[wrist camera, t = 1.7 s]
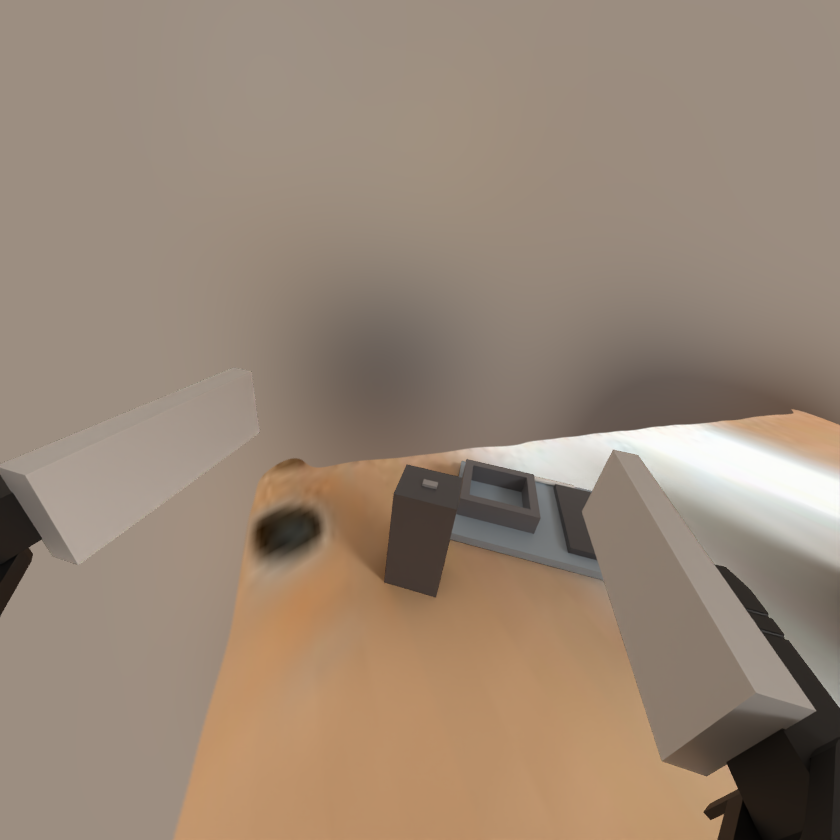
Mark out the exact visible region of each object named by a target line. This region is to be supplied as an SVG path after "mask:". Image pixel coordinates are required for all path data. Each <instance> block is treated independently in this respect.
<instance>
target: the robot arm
mask: <svg viewBox="0 0 840 840" xmlns="http://www.w3.org/2000/svg"><path fill="white" fill-rule="evenodd" d="M259 433H260V431H259V423H258V415H257V408H256V401H255V393H254V386H253V379H252V371H248V370H243V369H239V368H231V369H229V370H227V371H224V372H222V373H219V374H217V375H214V376H212V377H209V378H207V379H205V380H202V381H200V382H197V383H195V384H192V385H190V386H188V387H185V388H183V389H180V390H178V391H176V392H173V393H171V394H168V395H166V396H164V397H161V398H158V399H156V400H154V401H151V402H149V403H146V404H144V405H142V406H140V407H137V408H134V409H132V410H129V411H127V412H125V413H122V414H120V415H117V416H115V417H113V418H110V419H108V420H105V421H103V422H100V423H98V424H96V425H94V426H91V427H88V428H86V429H84V430H81V431H79V432H76V433H74V434H71V435H69V436H67V437H64V438H62V439H59V440H57V441H54V442H52V443H50V444H47V445H45V446H42V447H40V448H38V449H35V450H33V451H30V452H28V453H26V454H23V455H20V456H18V457H16V458H13V459H11V460H8V461H6V462H4V463H1V464H0V615H1V614H2V612H3V610H4V608H5V607H6V605H7V603H8V601H9V600H10V598H11V596H12V594H13V593H14V591H15V589H16V587H17V586H18V584H19V582H20V580H21V578H22V577H23V575H24V573H25V571H26V570H27V568H28V565H29V564H30V563H31V560H32V556H33V553H32V552H31V551H30V549H29V548H28V547H30V546H31V545H33V544H35V543H36V542H38V541H40V540H41V539H42V541H43V542H44V544H45V545H46V547H47V548H48V550H49V551H50V553H51V555H52V556H53V557H56V558H59V559H61V560H64V561H67V562H70V563H73V564H76V565H80V564H81V563H82V562H84V561H85V560H86V559H88V558H89V557H90V556H92V555H93V554H94V553H96V552H97V551H99V550H100V549H101V548H103V547H104V546H106V545H107V544H108V543H110V542H111V541H112V540H114V539H115V538H116V537H118V536H119V535H120V534H122V533H123V532H125V531H126V530H127V529H129V528H130V527H131V526H133V525H134V524H136V523H137V522H138V521H140V520H141V519H142V518H144V517H145V516H147V515H148V514H149V513H151V512H152V511H153V510H155V509H156V508H158V507H159V506H160V505H162V504H163V503H164V502H166V501H167V500H169V499H170V498H171V497H173V496H174V495H175V494H177V493H178V492H179V491H181V490H182V489H183V488H185V487H186V486H188V485H189V484H190V483H192V482H193V481H195V480H196V479H197V478H199V477H200V476H201V475H203V474H204V473H206V472H207V471H208V470H210V469H211V468H212V467H214V466H215V465H216V464H218V463H219V462H221V461H222V460H223V459H225V458H226V457H227V456H229V455H230V454H232V453H233V452H234V451H236V450H237V449H238V448H240V447H241V446H242V445H244V444H245V443H247V442H248V441H249V440H251V439H252V438H253V437H255V436H256V435H258V434H259ZM582 514H583V517H584V520H585V523H586V526H587V530H588V533H589V536H590V539H591V542H592V545H593V548H594V551H595V555H596V558H597V561H598V564H599V567H600V570H601V573H602V576H603V580H604V583H605V586H606V589H607V592H608V595H609V598H610V601H611V604H612V608H613V611H614V614H615V617H616V620H617V623H618V626H619V629H620V633H621V636H622V639H623V642H624V645H625V648H626V651H627V654H628V657H629V661H630V664H631V667H632V670H633V673H634V676H635V679H636V682H637V686H638V689H639V692H640V695H641V698H642V701H643V704H644V707H645V710H646V714H647V717H648V720H649V723H650V726H651V729H652V732H653V735H654V739H655V742H656V745H657V748H658V751H659V754H660V757H661V760H662V761H663V762H666V763H669V764H672V765H675V766H678V767H681V768H684V769H687V770H690V771H693V772H696V773H698V774H701V775H704V776H708V775H710V774H711V773H713V772H715V771H716V770H718V769H720V768H722V767H723V766H725V765H728V767H729V769H730V772H731V774H732V776H733V778H734V781H735V783H736V785H737V787H738V789H737V790H735V791H734V792H732V793H730V794H728V795H726V796H724V797H722V798H720V799H718V800H716V801H714V802H712V803H710V804H709V805H708V807H707V808H706V809H705V811H704V813H705V814H706V816H707V817H708V818H709V819H710V820H712V819H714V818H716V817H718V816H720V815H722V814H724V817H723V821H722V825H721V828H720V832H719V836H718V840H840V708H839V707H838V705H837V704H836V703H835V701H834V700H833V699H832V697H831V696H830V695H829V693H828V692H827V691H826V689H825V688H824V687H823V685H822V684H821V683H820V681H819V680H818V679H817V677H816V676H815V675H814V673H813V672H812V671H811V669H810V668H809V667H808V666H807V664H806V663H805V662H804V660H803V659H802V658H801V656H800V655H799V654H798V652H797V651H796V650H795V648H794V647H793V646H792V644H791V643H790V642H789V640H785V639H784V634H783V632H782V631H781V630H780V628H779V627H778V626H777V624H776V623H775V622H774V620H773V619H771V618H769V617H768V612H767V611H766V610H765V608H764V607H763V606H762V604H761V603H760V602H759V600H758V599H757V598H756V596H755V595H754V594H753V592H752V591H751V590H750V589H749V588H748V587H747V586H746V585H745V584H744V583H743V582H741V581H740V580H739V579H738V578H737V577H736V576H735V575H734V574H733V573H732V572H730V571H729V570H728V569H727V568H726V567H723V566H719V565H715V564H714V563H713V562H712V560H711V559H710V558H709V556H708V555H707V553H706V552H705V550H704V549H703V547H702V546H701V545H700V543H699V542H698V540H697V539H696V537H695V536H694V535H693V533H692V532H691V530H690V529H689V527H688V526H687V525H686V523H685V522H684V520H683V519H682V517H681V516H680V515H679V513H678V512H677V510H676V509H675V507H674V506H673V504H672V503H671V502H670V500H669V499H668V497H667V496H666V494H665V493H664V492H663V490H662V489H661V487H660V486H659V484H658V483H657V482H656V480H655V479H654V477H653V476H652V474H651V473H650V471H649V470H648V469H647V467H646V466H645V464H644V463H643V461H642V460H641V459H640V457H639V456H638V455H635V454H631V453H626V452H621V451H617V450H613V451H612V453H611V455H610V457H609V459H608V461H607V463H606V465H605V467H604V469H603V471H602V473H601V475H600V477H599V479H598V481H597V483H596V485H595V487H594V489H593V491H592V492H591V494H590V496H589V498H588V500H587V502H586V504H585V506H584V508H583V510H582Z"/></svg>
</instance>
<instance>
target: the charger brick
mask: <svg viewBox="0 0 840 840" xmlns="http://www.w3.org/2000/svg"><path fill="white" fill-rule="evenodd" d="M461 484H462V477H457V476H453V475H449V474H445V473H441V472H436V471H432V470H428V469H424V468H420V467H415V466H411V465H406V468H405V470H404V472H403V474H402V476H401V479H400V481H399V483H398V485H397V488H396V490H395V492H394V496H393V506H392V515H391V524H390V533H389V543H388V552H387V561H386V570H385V580H384V582H385V583H388V584H392V585H395V586H399V587H402V588H406V589H409V590H412V591H416V592H419V593H423V594H426V595H429V596H433V597H436V595H437V591H438V587H439V583H440V579H441V574H442V570H443V566H444V562H445V558H446V554H447V550H448V546H449V541H450V537H451V533H452V529H453V525H454V521H455V517H456V512H457V508H458V502H459V496H460V490H461Z"/></svg>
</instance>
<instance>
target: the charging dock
mask: <svg viewBox="0 0 840 840" xmlns="http://www.w3.org/2000/svg"><path fill="white" fill-rule="evenodd" d="M459 477H462V484H461V490H460V496H459V502H458V508H457V512H456V517H455V521H454V525H453V529H452V533H451V537H450V539H451V540H454V541H458V542H462V543H466V544H469V545H473V546H477V547H481V548H484V549H488V550H492V551H496V552H499V553H503V554H507V555H511V556H514V557H518V558H522V559H526V560H529V561H533V562H537V563H541V564H544V565H548V566H552V567H556V568H559V569H563V570H567V571H571V572H574V573H578V574H582V575H586V576H589V577H593V578H597V579H601V580H603V576H602V573H601V570H600V567H599V564H598V561H597V558H596V555H595V551H594V548H593V545H592V542H591V539H590V536H589V533H588V530H587V526H586V523H585V520H584V517H583V514H582V510H583V508H584V506H585V504H586V502H587V500H588V498H589V496H590V494H591V492H592V491H590V490H586V489H581V488H577V487H574V486H573V485H570V484H566V483H561V482H557V481H553V480H548V479H544V478H540V477H535V476H534V475H533V474H529V473H524V472H520V471H516V470H511V469H507V468H503V467H498V466H494V465H490V464H485V463H481V462H476V461H472V460H468V459H466V462H464V461H462V462H461V466H460V472H459Z"/></svg>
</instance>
